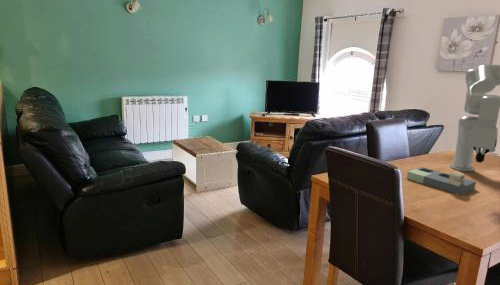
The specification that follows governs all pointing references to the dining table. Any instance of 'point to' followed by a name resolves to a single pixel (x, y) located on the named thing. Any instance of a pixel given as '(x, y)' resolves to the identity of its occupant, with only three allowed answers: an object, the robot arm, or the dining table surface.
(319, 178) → the dining table surface
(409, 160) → the dining table surface
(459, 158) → the robot arm
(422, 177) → the board
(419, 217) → the dining table surface
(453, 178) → the maple block
